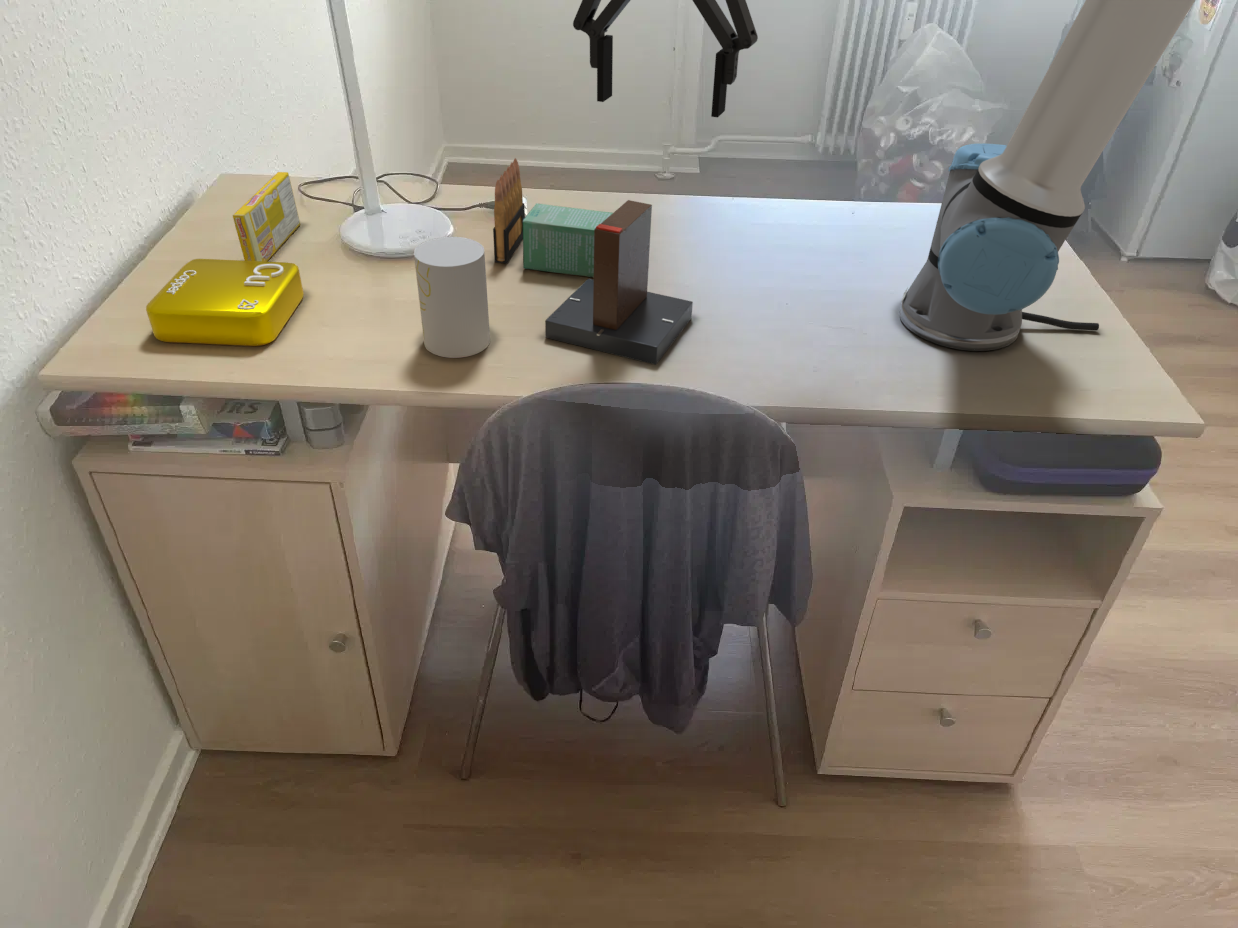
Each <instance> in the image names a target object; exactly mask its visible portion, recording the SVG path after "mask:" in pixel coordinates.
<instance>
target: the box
mask: <svg viewBox="0 0 1238 928" xmlns="http://www.w3.org/2000/svg"><path fill="white" fill-rule="evenodd" d="M613 213H614V212H612V211H611V212H610V211H603V210H593V209H585V208H577V207H567V206H560V205H553V204H546V203H538V202H536V203H535V204H534V205H533V206H532V208H531V209H530V211H529V212H528V213H527V215H525V218H524V219H523V240H522V255H523V256H522V262H523V263H522V265H523V266H522V267H523V269H526V270H534V271H542V272H549V273H557V274H563V275H564V274H565V275H572V276H573V275H574V276H580V277H581V276H582V277H589V278H594V229H595V228H596V227H597V226H598V225H599V224H601V223H602V222H603V221H604V220H606V219H607V218H608V217H609V216H610V215H611V214H613Z"/></svg>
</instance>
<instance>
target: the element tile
mask: <svg viewBox="0 0 1238 928" xmlns="http://www.w3.org/2000/svg"><path fill="white" fill-rule="evenodd" d="M304 295H305V294H304V288H303V283H302V278H301V272H300V269H299V266H298V265H297V264H296V263H293V262H287V261H286V262H285V261H284V262H282V261H267V262H264V261H245V260H242V259H241V260H238V259H220V258H219V259H216V258H194V259H191V260H190V261H188V262H187V263H185V264H184V265H183V266H182V267H181V268H180V269H179V270H178V271H177V272H176V273H175V274H174V275H173V277H171V279H169V280H168V282H167V283H166V284H165V285H164V286H162V288H161V289H160V290H159V291H158V293H156V294H155V296H153V298H151V300H149V302H148V303H147V304H146V306H145V310H146V314H147V317H148V321H149V325H150V327H151V331H152V333H153V336H154V338H155V339H156V340H157V341H161V342H165V343H179V344H181V343H182V344H198V345H199V344H200V345H201V344H202V345H224V346H245V347H259V346H265V345H268V344H270V343H272V342H274V341H275V340H276V339H277V337H278V336H279V334H280V333H281V331H282V330H283V328H284V327H285V325H286V324H287V322H288V321H289V319H290V318H291V316H292V315H293V313H294V312H295V310H296V309H297V307H298V305H299V304H300V303H301V301H302V300H303V298H304Z"/></svg>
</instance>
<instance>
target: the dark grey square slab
mask: <svg viewBox="0 0 1238 928" xmlns="http://www.w3.org/2000/svg"><path fill="white" fill-rule="evenodd" d="M593 286H594V278H593V279H592V278H587V279H586V280H585V281H584V282H583V283H582V284H581V285H580V286H579V287H578V288H577V289H576V290H574V291H573V293H572V294H571V295H569V297H567V299H566V300H565V301H563V302H562V304H561V305H559V306H558V307H557V308H556V309H555V310H554V311H553V312H552V313H551V314H550V315H549V316H548V317H547V318H546V319H545V321H544V322H545V323H544V326H545V332H544V333H545V339H549V340H552V341H553V340H554V341H558V342H562V343H566V344H570V345H575V346H578V347H582V348H586V349H590V350H595V351H599V352H603V353H607V354H610V355H614V356H619V357H623V358H627V359H632V360H635V361H640V362H643V363H648V364H651V365H655V366H656V365H657V364H658V363H659V362H660V360H661V359H662V358H663V356H664V355H665V354H666V352H667V351H668V350H669V348H670V347H671V346H672V344H673V343H674V342H675V341H676V339H677V338H678V337H679V335H680V334H681V333H682V331H683V330H684V329H685V327H686V326H687V325H688V323H689V322H690V321H691V320H692V315H693V305H694V303H693V301H691V300H687V299H684V298H683V299H682V298H677V297H674V296H669V295H665V294H660V293H655V292H651V291H647V297H646V298H645V299H644V300H643V301H642V303H641V304H640V305H639V306H638V307H637V308H636V309H635V310H634V311H633V312H632V314H631V315H630V316H629V317H628V318H627V319H626V320H625V321H624V322H623V323H622V325H621V326H620V327H619V328H618V329H617V330H613V329H609V328H605V327H601V326H597V325H593Z"/></svg>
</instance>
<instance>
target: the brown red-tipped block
mask: <svg viewBox="0 0 1238 928" xmlns="http://www.w3.org/2000/svg"><path fill="white" fill-rule="evenodd" d="M652 208H653V204H650V203H645V202H639V201H635V200H631V199H628V200H626V201H625V202H624V203H623V204H621V205H620V207H618V208H617V209H615V211H613V212H612V213H613V214H611V215H610V216H609V217H608V218H607V219H606V220H604V221H603V222H602V223H601V224H599V225H598V226H597V227H596V228H595V229H594V277H593V280H594V286H593V325H597V326H601V327H605V328H609V329H613V330H617V329H618V328H619V327H620V326H621V325H622V323H623V322H624V321H625V320H626V319H627V318H628V317H629V316H630V315H631V314H632V312H633V311H634V310H635V309H636V308H637V307H638V306H639V305H640V304H641V303H642V301H643V300H644V299H645V298H646V297H647V292H648V282H649V265H650V250H651V249H650V247H651V229H652V211H653V209H652Z"/></svg>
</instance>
